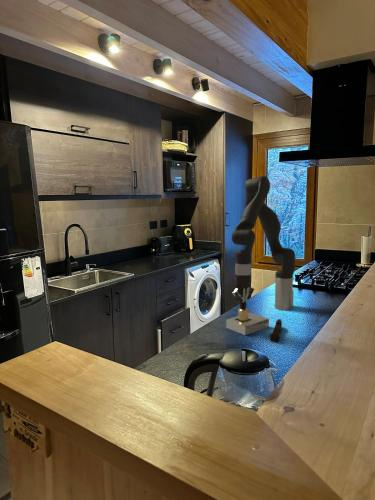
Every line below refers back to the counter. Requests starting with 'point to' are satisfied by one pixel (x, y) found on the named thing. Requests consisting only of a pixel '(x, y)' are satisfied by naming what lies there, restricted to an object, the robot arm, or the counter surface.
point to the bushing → (243, 315)
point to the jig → (247, 324)
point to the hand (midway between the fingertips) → (243, 309)
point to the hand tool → (276, 331)
